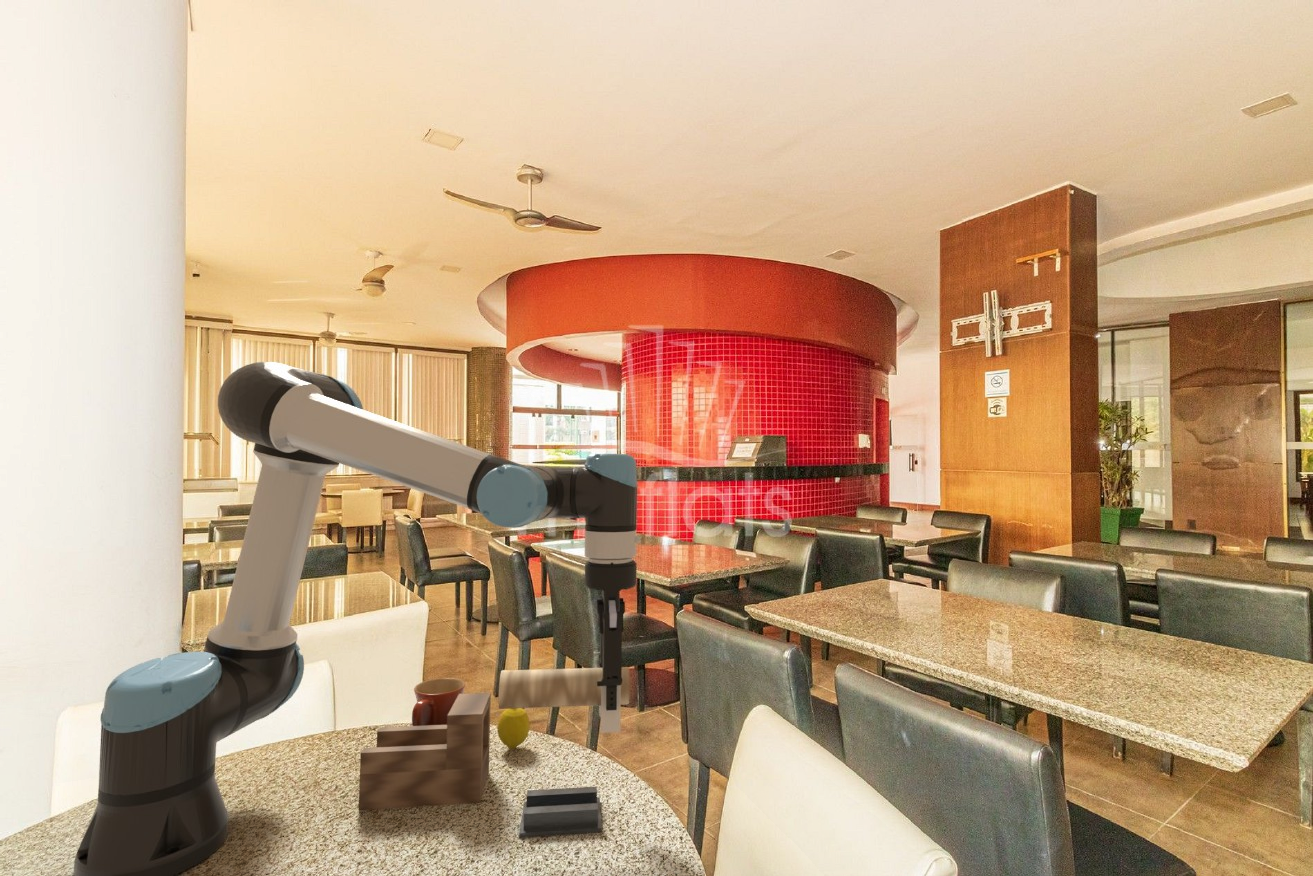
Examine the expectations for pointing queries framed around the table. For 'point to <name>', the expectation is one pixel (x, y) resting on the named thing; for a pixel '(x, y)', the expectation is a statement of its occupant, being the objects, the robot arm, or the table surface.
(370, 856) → the table surface
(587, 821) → the cradle
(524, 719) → the fruit
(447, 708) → the mug
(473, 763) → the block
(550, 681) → the axle
